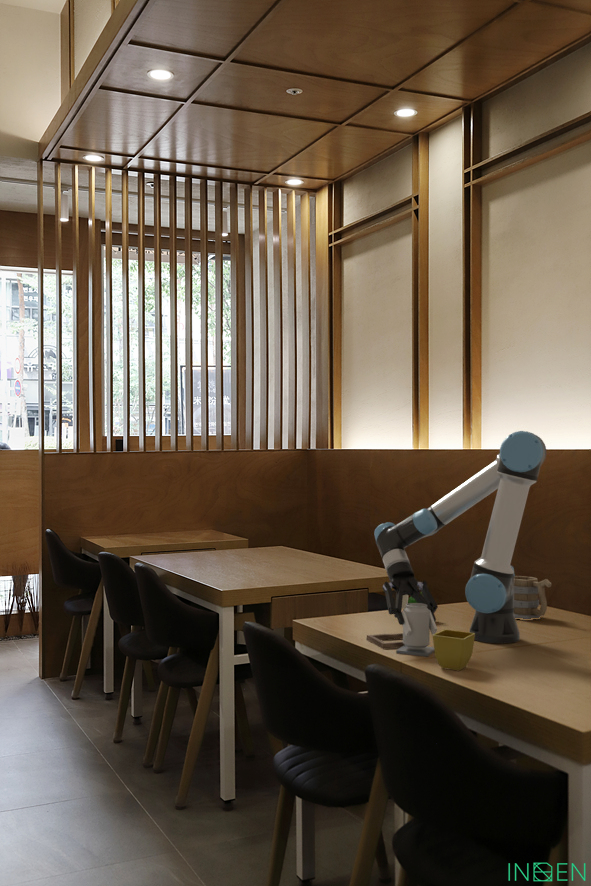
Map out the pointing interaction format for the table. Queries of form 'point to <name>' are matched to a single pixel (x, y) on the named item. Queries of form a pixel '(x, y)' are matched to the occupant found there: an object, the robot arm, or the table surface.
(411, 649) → the slate coaster
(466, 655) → the flower pot
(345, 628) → the table surface
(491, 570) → the robot arm
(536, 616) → the tankard
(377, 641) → the walnut frame
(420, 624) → the white jar
